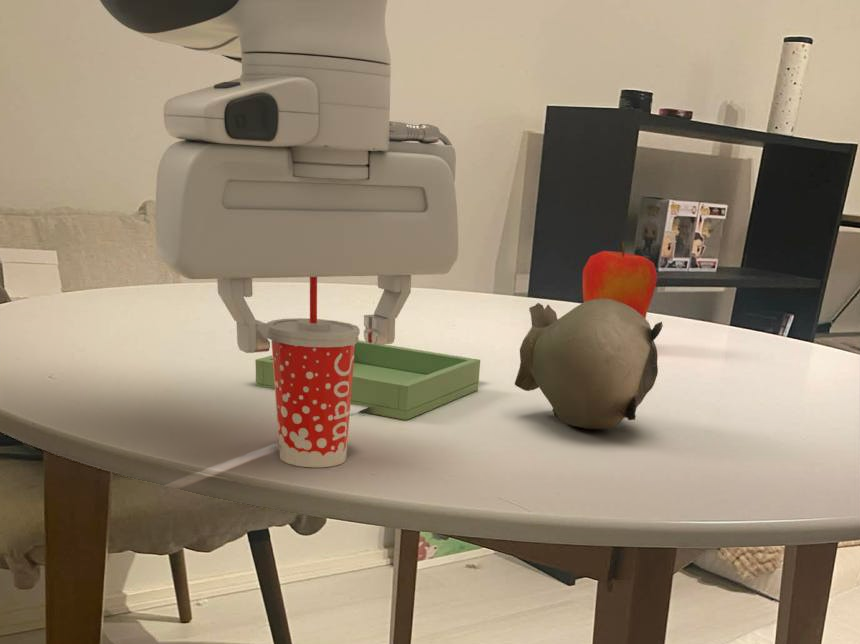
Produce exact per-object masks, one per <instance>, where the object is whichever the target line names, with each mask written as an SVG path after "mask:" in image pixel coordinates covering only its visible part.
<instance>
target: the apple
mask: <svg viewBox="0 0 860 644" xmlns="http://www.w3.org/2000/svg"><path fill="white" fill-rule="evenodd" d="M621 248H622V249H621V250H622V251H621V252H620V251H611V250H602V251H600V252H597V253H595V254H592V255H590V256H589V258H588V260H587V261H586V263H585V265H584V267H583V269H582V297H583V302H585V301H589V300H595V299H603V298H604V299H611V300H615V301H618V302H621V303H623V304H626V305H628V306H630V307H631V308H633V309H635V310H636V311H637V312H638V313H640V314H641V315H642V316H643V317H644V318H645V319H646V318H647V314H648V310H649V307H650V305H651V301H652V300H653V297H654V293H655V289H656V285H657V281H658V274H657V270H656V266H655V263H654V262H653V261H651V260H650V259H649V258H647V257H645V256H642V255H637V254H632V253H628V252H625V251H626V250H625V242H624V240H622V243H621ZM646 320H647V319H646Z"/></svg>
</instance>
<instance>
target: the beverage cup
mask: <svg viewBox="0 0 860 644" xmlns="http://www.w3.org/2000/svg"><path fill="white" fill-rule="evenodd" d="M266 324H269V330H270V335H269V337H268V340H269V341H270V340H271V342H270V343H271V351H272V352H271V354H272V355H273V369H274V382H275V389H274V394H275V406H276V407H275V408H276V422H277V435H278V447H279V448H278V449H279V458H280V460H281V461H282V462H284V463H286V464H288V465H292V466H296V467H303V468H328V467H336V466H339V465H342V464H343V463H345V461H346V460H347V450H348V438H349V427H350V426H349V425H350V416H351V415H350V414H351V403H350V402H351V390H352V377H353V365H354V352H355V344H356V343H358V342H359V340H360V339H359V336H360V333H361V332H360V331H361V329H360V328H359V327H358V325H355V324H352V323H349V322H345V321H339V320H331V319H321V318H318V277H309V318H306V317H305V318H303V317H298V318H296V317H295V318H293V317H292V318H280V319H273V320H270V321H268V322H266ZM272 355H271V356H272Z"/></svg>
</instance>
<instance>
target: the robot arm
mask: <svg viewBox="0 0 860 644" xmlns="http://www.w3.org/2000/svg"><path fill="white" fill-rule="evenodd" d="M99 1H100V3H101V5H102V6H103V8H104V9H105V10H106V11H107V12H108V13H109V14H110V15H111V17H113V18H114V19H115V20H116V21H118V22H119V23H120V24H121V25H122V26H124V27H126V28H128V29H129V30H132V31H134V32H137V33H138V34H140V35H142V36H144V37H146V38H149V39H152V40H154V41H157V42H160V43H166V44H170V45H176V46H181V47H183V48H184V49H188V50H194V51H197V52H198V51H199V52H203V53H209V54H214V55H219V56H223V57H225V58H227V59H229V60H232V61H234V62H237V63H240V64H241V75H240V77H239V78H235V79H232V80H228V81H223V82H219V83H216V84H214V85H212V86H211V85H210V86H207V87H205V88H200V89H197V90H193V91H190V92H187V93H183V94H179V95H175V96H173V97H170V98H169V99H167V100H166V101H165V103H164V106H163V123H164V128H165V130H166V132H167V133H168V135H169V136H171V137H172V138H174V139H178V140H179V141H176V142H174V143H172V144H171V145H169V146H168V147H167V148H166V149H165V150H164V152H163V154H162V156H161V157H160V160H159V163H158V168H157V173H156V188H155V240H156V241H155V242H156V250H157V254H158V257H159V259H160V260H161V262H162V263H163V265H164V266H165V267H166V268H167V269H168V270H169V271H170V273H172V274H173V275H176V276H179V277H181V278H185V279H187V280H217V281H216V283H217V294H218V296H219V297H220V300H221V301H222V303H223V304H224V305H225V307H226V309H227V311H228V312H229V314H230V316H231V317H232V319H233V320H234V322H236V341H237V342H236V343H237V347H238V349H239V351H242V352H244V353H245V354H254V353H263V352H264V353H266V352H269V351H270V348H271V342H270V339H268V337H269V335H270V330H269V324H267V322H263V321H261V320H258V319H256V318H255V316H254V314H253V312H252V310H251V309H250V307H249V305H248V302H247V301H246V299H245V298H252V296H253V279H280V278H281V279H282V278H310V277H317V278H328V277H329V278H330V277H331V278H333V277H335V278H337V277H373V276H374V277H377V288H378V289H382V290H383V291H382V293H381V296H380V298H379V301H378V303H377V306H376V308H375V310H374V313H373V314H364V315H363V326H364V330H363V338H364V341H366V342H368V343H372V344H374V345H379V344H385V345H392V344H394V342H395V337H396V319H398V316H399V315H400V313H401V311H402V309H403V308H404V306H405V304H406V302H407V300H408V299H409V297H410V295H411V290H412V276H427V275H428V276H430V275H432V276H433V275H448V273H450V272H451V270H452V269H453V267H454V265H455V263H456V262H457V260H458V256H459V221H458V220H459V219H458V204H457V194H456V193H457V192H456V187H455V181H456V165H457V164H456V163H457V155H456V150H455V147H454V146H453V145H452V142H451V141H450V140H449V138H448V137H447V136H446V135H445V134H444V133H442V132H441V130H440V128H439V127H438V126H436V125H433V124H427V123H420V124H410V123H406V122H401V121H390V117H391V116H390V113H391V112H390V111H391V75H392V74H391V71H392V70H391V69H392V68H391V65H392V60H391V59H392V58H391V51H390V49H389V44H388V38H387V33H386V11H387V4H388V0H99ZM439 141H441V142H442V143H443V144H439V143H438V142H439Z"/></svg>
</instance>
